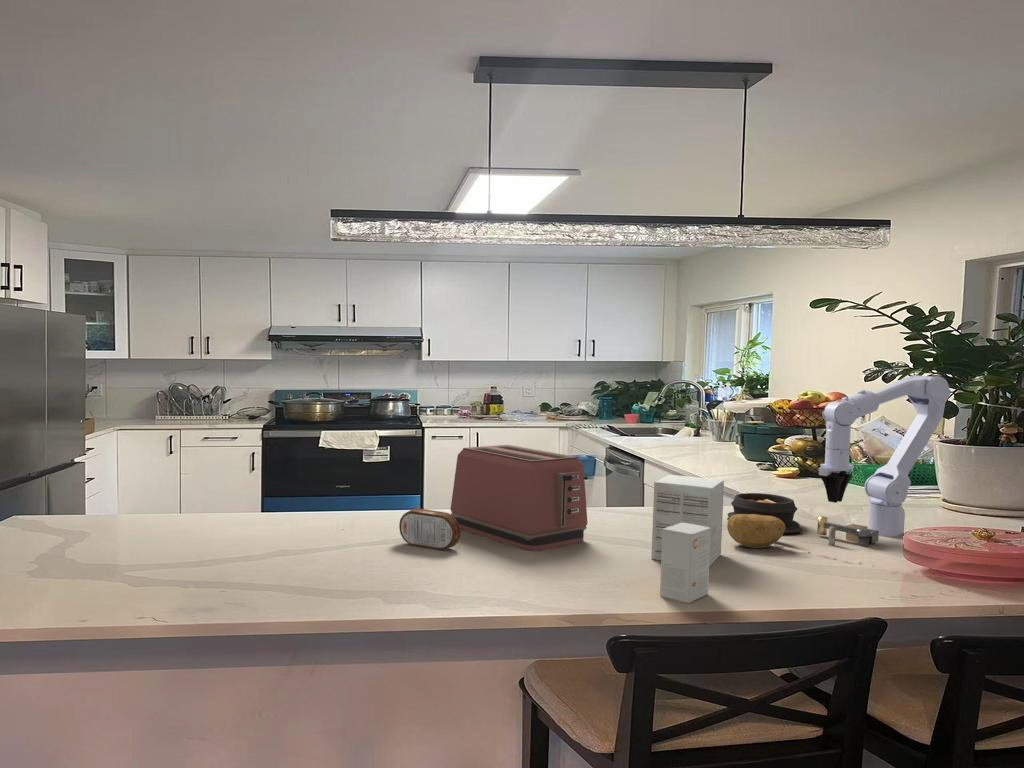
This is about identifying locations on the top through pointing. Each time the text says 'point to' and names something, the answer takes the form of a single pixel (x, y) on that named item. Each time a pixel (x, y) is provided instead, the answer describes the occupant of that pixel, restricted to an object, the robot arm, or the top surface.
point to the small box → (685, 562)
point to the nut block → (853, 536)
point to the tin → (429, 529)
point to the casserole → (767, 508)
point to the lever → (846, 529)
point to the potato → (755, 529)
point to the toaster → (520, 496)
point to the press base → (861, 540)
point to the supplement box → (688, 508)
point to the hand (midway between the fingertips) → (834, 501)
